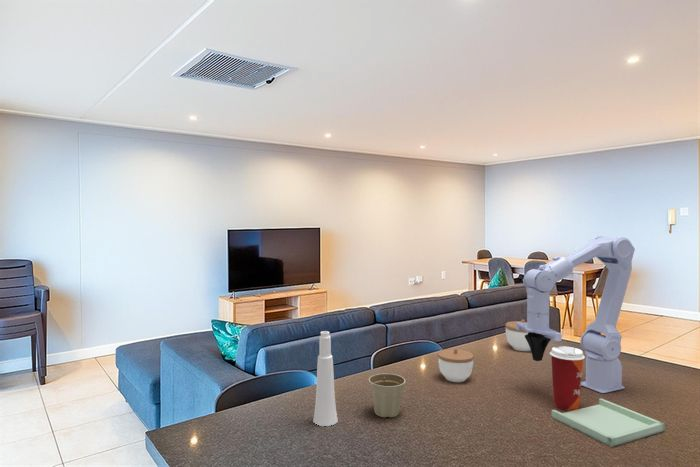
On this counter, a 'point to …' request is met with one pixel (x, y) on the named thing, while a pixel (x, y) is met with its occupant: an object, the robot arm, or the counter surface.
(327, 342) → the cosmetic bottle
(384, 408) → the flower pot
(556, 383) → the coffee cup
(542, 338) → the robot arm
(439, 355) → the lidded jar
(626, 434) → the tray
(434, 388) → the counter surface
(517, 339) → the lidded bowl
